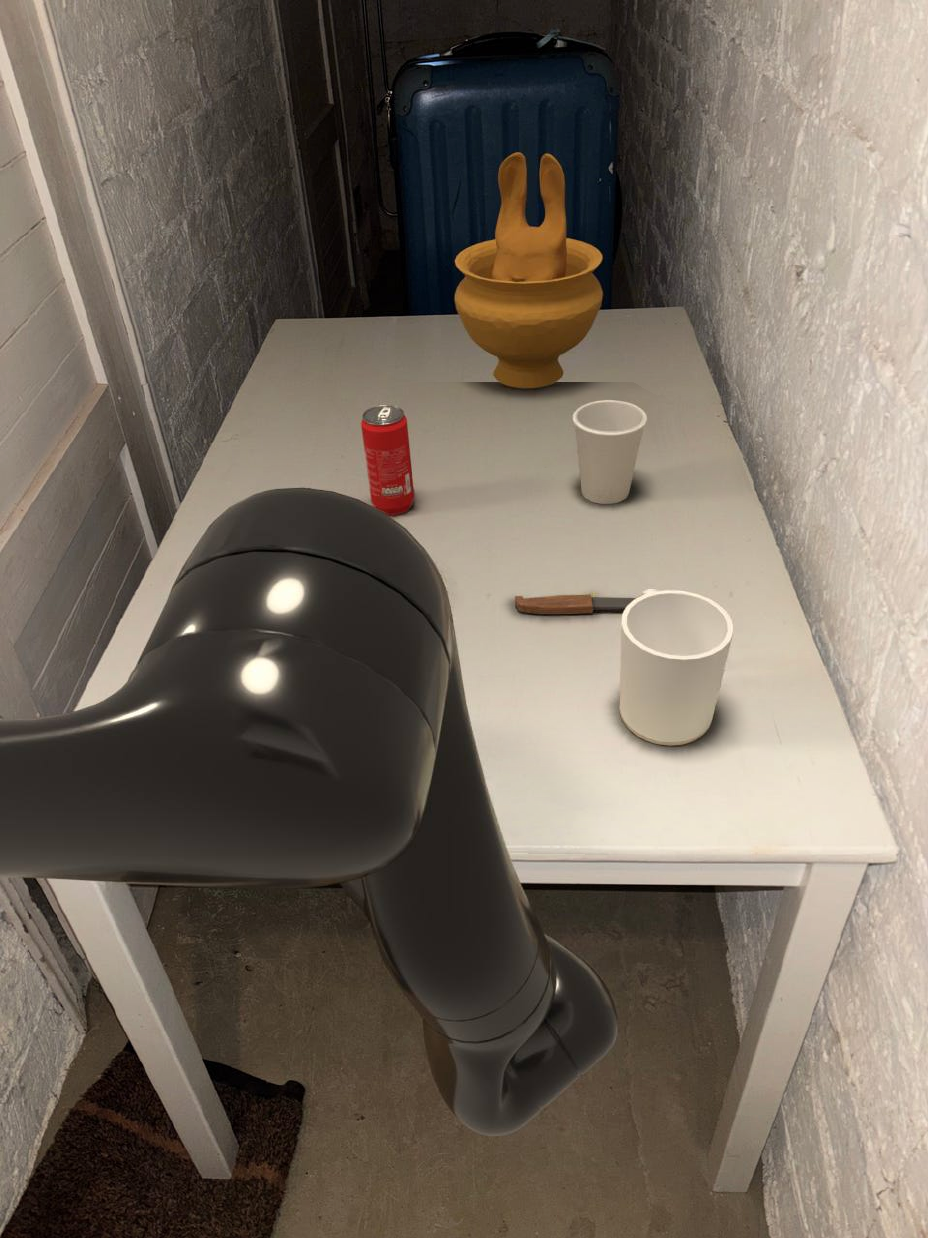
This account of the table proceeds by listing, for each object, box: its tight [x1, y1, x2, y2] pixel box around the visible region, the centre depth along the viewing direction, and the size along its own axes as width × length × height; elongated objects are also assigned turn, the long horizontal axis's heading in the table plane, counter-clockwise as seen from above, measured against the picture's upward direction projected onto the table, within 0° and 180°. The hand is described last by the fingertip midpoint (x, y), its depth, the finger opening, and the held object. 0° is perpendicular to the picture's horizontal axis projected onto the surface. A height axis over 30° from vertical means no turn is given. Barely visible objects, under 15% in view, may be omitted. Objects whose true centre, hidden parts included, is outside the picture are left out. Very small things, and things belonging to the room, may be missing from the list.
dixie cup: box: [572, 399, 648, 505], centre depth 107 cm, size 8×8×10 cm
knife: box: [514, 590, 637, 615], centre depth 92 cm, size 17×1×3 cm
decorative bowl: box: [454, 152, 604, 389], centre depth 128 cm, size 21×21×30 cm
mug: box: [619, 588, 734, 747], centre depth 78 cm, size 11×9×10 cm
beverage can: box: [360, 404, 415, 516], centre depth 106 cm, size 5×5×12 cm
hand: (279, 699), depth 72 cm, fingers open, 8 cm apart
